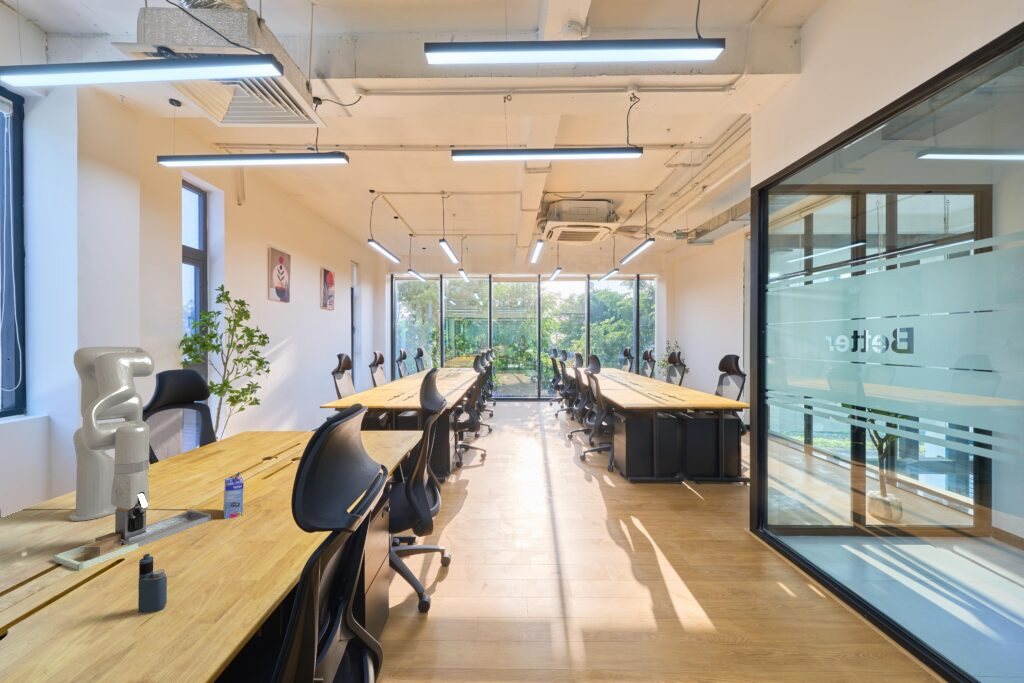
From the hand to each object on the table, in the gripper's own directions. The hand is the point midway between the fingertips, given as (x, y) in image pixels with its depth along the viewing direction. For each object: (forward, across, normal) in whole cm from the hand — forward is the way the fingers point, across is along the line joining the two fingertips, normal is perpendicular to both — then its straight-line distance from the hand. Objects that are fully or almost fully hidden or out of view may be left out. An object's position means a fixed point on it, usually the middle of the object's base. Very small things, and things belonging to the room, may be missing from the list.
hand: (130, 528), depth 120 cm
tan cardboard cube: (+5, -1, -5) cm, 7 cm away
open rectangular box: (+5, +1, +8) cm, 10 cm away
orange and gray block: (+2, 0, 0) cm, 2 cm away
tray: (+5, +1, -8) cm, 9 cm away
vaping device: (+4, +42, -15) cm, 45 cm away
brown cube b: (+5, +3, -8) cm, 10 cm away
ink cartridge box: (+5, +7, +26) cm, 27 cm away
